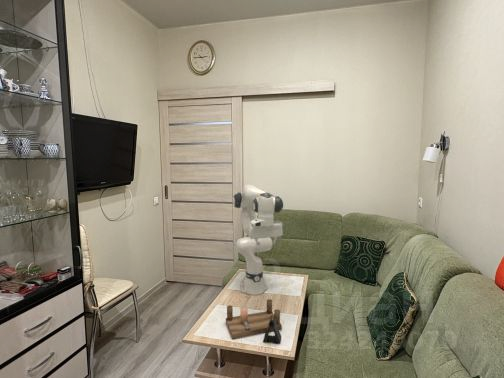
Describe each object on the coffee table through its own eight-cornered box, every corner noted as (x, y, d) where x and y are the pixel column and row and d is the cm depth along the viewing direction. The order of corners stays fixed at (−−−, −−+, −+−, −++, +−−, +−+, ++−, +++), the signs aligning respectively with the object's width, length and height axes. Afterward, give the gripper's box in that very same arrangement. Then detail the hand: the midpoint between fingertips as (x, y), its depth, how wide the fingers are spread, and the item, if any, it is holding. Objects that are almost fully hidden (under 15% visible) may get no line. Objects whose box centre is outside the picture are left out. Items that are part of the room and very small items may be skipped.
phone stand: (262, 342, 157) (262, 320, 156) (264, 335, 163) (264, 314, 161) (280, 344, 155) (280, 322, 154) (281, 337, 161) (281, 316, 160)
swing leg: (251, 329, 163) (251, 316, 162) (244, 330, 162) (244, 317, 161) (246, 318, 173) (246, 306, 172) (239, 320, 172) (239, 307, 171)
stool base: (225, 322, 175) (225, 305, 173) (271, 314, 183) (271, 298, 181) (232, 339, 160) (232, 320, 158) (281, 330, 168) (281, 312, 166)
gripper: (280, 219, 182) (280, 241, 183) (247, 221, 175) (247, 244, 177) (284, 221, 176) (284, 244, 177) (250, 224, 169) (251, 248, 171)
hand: (265, 244), depth 177 cm, fingers open, 8 cm apart
